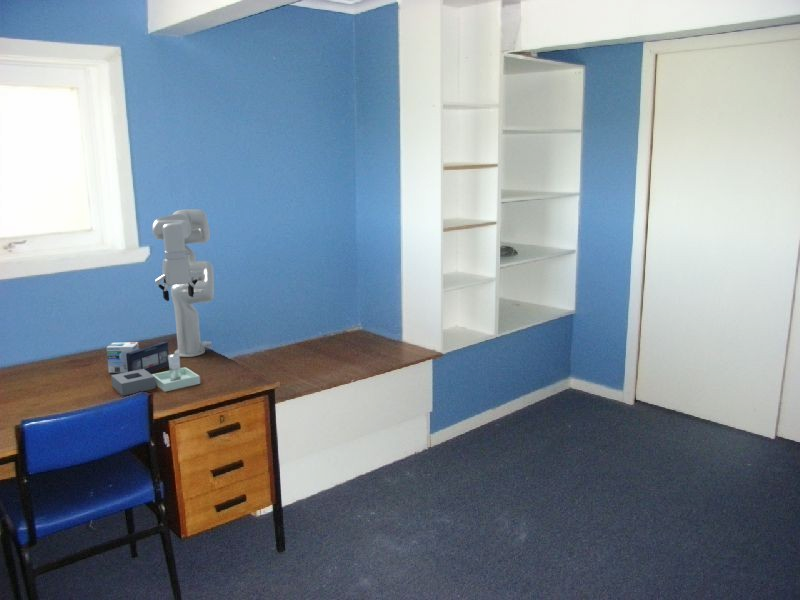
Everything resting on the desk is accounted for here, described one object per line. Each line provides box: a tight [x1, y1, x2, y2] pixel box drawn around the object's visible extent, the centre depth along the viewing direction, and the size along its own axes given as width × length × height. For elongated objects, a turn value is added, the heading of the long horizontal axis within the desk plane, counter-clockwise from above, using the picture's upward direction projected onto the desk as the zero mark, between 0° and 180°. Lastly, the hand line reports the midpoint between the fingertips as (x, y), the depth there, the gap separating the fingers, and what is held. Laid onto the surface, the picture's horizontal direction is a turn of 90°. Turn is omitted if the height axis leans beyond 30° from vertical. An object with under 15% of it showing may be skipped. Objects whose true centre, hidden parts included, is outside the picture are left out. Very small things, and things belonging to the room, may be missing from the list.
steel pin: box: [168, 353, 181, 382], centre depth 258 cm, size 4×4×10 cm
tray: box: [151, 367, 201, 392], centre depth 259 cm, size 14×14×3 cm
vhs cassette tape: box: [126, 341, 170, 374], centre depth 272 cm, size 18×3×10 cm, turn 147°
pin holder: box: [110, 369, 157, 396], centre depth 254 cm, size 12×12×4 cm
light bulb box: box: [106, 341, 140, 374], centre depth 273 cm, size 11×7×11 cm, turn 92°
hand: (179, 298), depth 268 cm, fingers open, 9 cm apart
